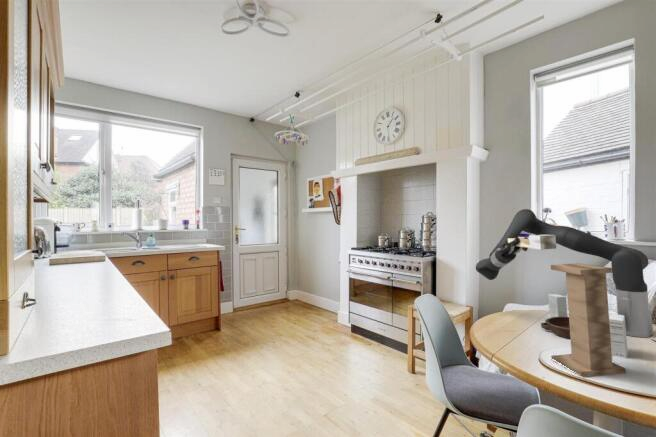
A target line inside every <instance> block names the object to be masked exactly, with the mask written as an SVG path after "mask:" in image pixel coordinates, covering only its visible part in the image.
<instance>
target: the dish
mask: <svg viewBox="0 0 656 437" xmlns="http://www.w3.org/2000/svg"><path fill="white" fill-rule="evenodd" d="M540 327H541V329H543V330H547V331H550V332H552V333H553V334H554V335H557V336H559V337H563V338H566V339H570V325H569V316H567V317H552V318H550V317H549V318H546V319H545V320H544V322H541V323H540Z"/></svg>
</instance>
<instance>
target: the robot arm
mask: <svg viewBox="0 0 656 437" xmlns="http://www.w3.org/2000/svg"><path fill="white" fill-rule="evenodd" d="M522 232H524V233H527V234H530V235H531V234H532V235H555V236H556V245H560V246H562V247H564V248H567V249H570V250H571V251H574V252H578V253H582V254H585V255H591V256H594V257H599V258H602V259H604V260H607V261H610V262H611V264H610V265H611V266H610V267H611V268H612V273H611V274H612V280H613V283H614V286H615V296H616V299H615V300H616V309H617V314H618V315H624V316H625V326H626V336H631V337H637V338H650V337H651V336H653V335H654V330H653V329H654V328H653V326H654V325H653V315H652V314H653V312H652V310H651V309H650V308H649V305H650V304H649V291H648V284H647V283H646V282H645V278H644V269H646V268H647V267H648V265H649V258H648V257H647V255H646V254H645V253H643V251H641V250H639V249H636V248H631V247H628V246H624V245H620V244H617V243H614V242H611V241H607V240H604V239H603V238H600V237H598V236H596V235H593V234H590V233H588V232H585V231H583V230H580V229H578V228H577V229H576V228H574V227H571V226H568V225H567V226H566V225H554V224H550V223H547V222H545V221H542V220H540V219H539V218H537V215H536V214H535V212H534V211H533V210H531V209H528V208H525V209H524V208H523V209H521V210H519V211H517V212H516V213H515V215H514V216H513V218H512V220H511V222H510V224H509V226H508V228H507V230H506V231H505V232H504V234H503V236H502V237H501V239H500V240H499V242H498V243H497V244H496V246H495V247H494V248H493V249H492V251H491V252H490V253H489V257H488V258H483V259H481V260H480V261H478V262H477V263H476V265H475V270H476V272H477V273H479V274H480V275H482V276H483V277H484V278H486V279H487V280H489V281H494V280H495V279H496V278H497V277H498V276H499V272H500V270H501V269H502V268H503V267H505V266H507V265H508V264H510V263H512V261H513V260H515V259H516V257H517V254H518V253H520V252H521V251H524V252H527V251H528V247H519V246H516V245H517V244H519V243H520V239H521V238H520V234H521V233H522ZM508 238H516V239H514V240H513V241H511V242H510V243H508ZM519 238H520V239H519ZM522 239H529V237H528V236H525V237H523V238H522Z"/></svg>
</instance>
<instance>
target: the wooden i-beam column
mask: <svg viewBox="0 0 656 437" xmlns="http://www.w3.org/2000/svg"><path fill="white" fill-rule="evenodd" d="M550 270H552V271H556V272H557V271H558V272H561V273H565V280H566V281H565V282H566V294H567V296H566V298H567V312H568V317H569V325H570V338H569V339H570V349H571V351H570V352H571V353H567V354H556V355H554V354H553V355H551V357H550V358H552V359H554V360H556V361H557V362H559V363H561V364H562V365H564V366H566V367H567V368H569V369H570V370H572V371H574V372H576V373H577V374H579V375H580V376H579V375H578V376H579V377H581V376H587V377H595V376H596V377H597V376H605V375H606V376H607V375H609V376H610V375H617V374H626V367H623V366H621V365H619V364H617V363H615V362H613V355H612V352H611V338H610V324H609V314H610V313H609V299H608V285H607V284H608V283H607V274H610V273H611V274H612V267H609V266H601V265H596V264H595V265H594V264H588V263H586V264H585V263H581V262H580V263H579V262H577V263H564V264H561V263H560V264H551V265H550ZM552 359H551V360H552ZM567 368H566V369H567ZM570 370H569V371H570ZM572 371H571V372H572ZM574 372H573V373H574ZM576 373H575V374H576ZM577 374H576V375H577Z"/></svg>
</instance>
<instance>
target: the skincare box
mask: <svg viewBox="0 0 656 437" xmlns="http://www.w3.org/2000/svg"><path fill="white" fill-rule="evenodd" d="M548 308H549V309H548V310H549V311H548V312H549V318H552V317H568V304H567V296H565V295H560V294H558V293H556V294H555V293H554V294H553V293H552V294H548Z"/></svg>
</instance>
